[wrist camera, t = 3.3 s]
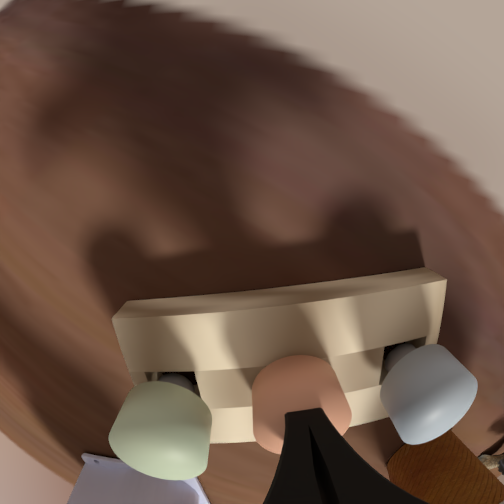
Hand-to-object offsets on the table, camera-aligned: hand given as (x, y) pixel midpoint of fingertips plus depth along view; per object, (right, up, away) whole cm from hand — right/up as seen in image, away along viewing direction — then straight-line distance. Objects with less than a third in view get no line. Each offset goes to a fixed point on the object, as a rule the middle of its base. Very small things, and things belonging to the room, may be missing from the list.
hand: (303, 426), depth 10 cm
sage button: (-6, 0, +3) cm, 6 cm away
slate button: (+5, +1, +3) cm, 6 cm away
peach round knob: (0, +1, +4) cm, 4 cm away
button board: (0, +1, +5) cm, 5 cm away
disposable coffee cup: (+12, -10, +8) cm, 18 cm away
